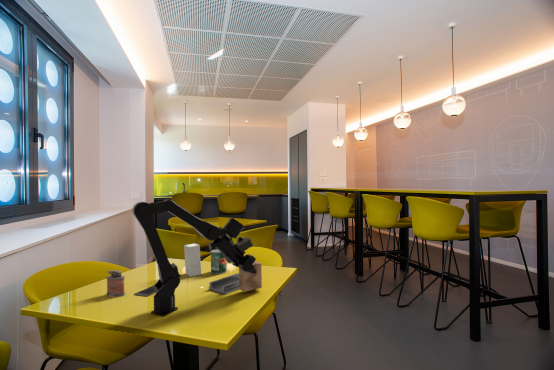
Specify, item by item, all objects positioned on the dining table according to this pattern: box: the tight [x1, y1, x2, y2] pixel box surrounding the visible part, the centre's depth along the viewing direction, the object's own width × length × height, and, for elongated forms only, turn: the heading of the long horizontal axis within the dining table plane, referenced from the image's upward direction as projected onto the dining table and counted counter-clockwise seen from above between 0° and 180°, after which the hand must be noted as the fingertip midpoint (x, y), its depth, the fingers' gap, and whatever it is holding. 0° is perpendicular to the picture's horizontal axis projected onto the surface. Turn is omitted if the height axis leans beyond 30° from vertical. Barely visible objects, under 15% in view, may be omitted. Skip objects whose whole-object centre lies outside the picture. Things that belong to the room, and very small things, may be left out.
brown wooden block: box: [238, 260, 263, 293], centre depth 116 cm, size 8×4×10 cm, turn 121°
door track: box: [208, 272, 240, 296], centre depth 123 cm, size 16×10×3 cm, turn 141°
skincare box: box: [183, 243, 202, 278], centre depth 143 cm, size 8×6×15 cm
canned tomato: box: [210, 248, 228, 275], centre depth 146 cm, size 8×8×11 cm
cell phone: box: [133, 285, 156, 298], centre depth 121 cm, size 7×14×1 cm, turn 159°
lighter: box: [106, 269, 126, 298], centre depth 117 cm, size 8×3×10 cm, turn 74°
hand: (253, 271), depth 117 cm, fingers closed on brown wooden block, 4 cm apart
